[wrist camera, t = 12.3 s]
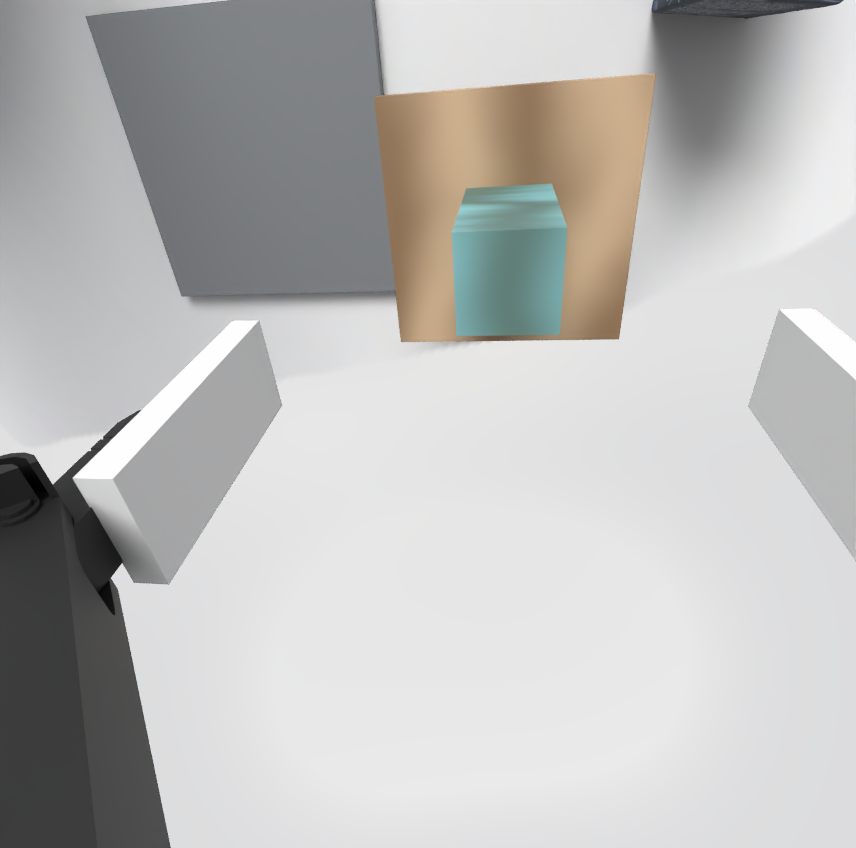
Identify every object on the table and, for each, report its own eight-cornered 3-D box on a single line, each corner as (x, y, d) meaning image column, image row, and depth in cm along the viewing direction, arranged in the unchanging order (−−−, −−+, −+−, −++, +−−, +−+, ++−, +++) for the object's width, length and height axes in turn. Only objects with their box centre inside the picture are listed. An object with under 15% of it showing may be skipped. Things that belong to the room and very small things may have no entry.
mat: (187, 291, 44) (181, 296, 43) (96, 17, 34) (85, 16, 33) (402, 286, 41) (400, 290, 40) (372, -13, 31) (369, -16, 30)
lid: (403, 334, 31) (371, 419, 24) (378, 95, 24) (322, 110, 17) (615, 331, 29) (651, 421, 22) (650, 73, 23) (718, 79, 15)
